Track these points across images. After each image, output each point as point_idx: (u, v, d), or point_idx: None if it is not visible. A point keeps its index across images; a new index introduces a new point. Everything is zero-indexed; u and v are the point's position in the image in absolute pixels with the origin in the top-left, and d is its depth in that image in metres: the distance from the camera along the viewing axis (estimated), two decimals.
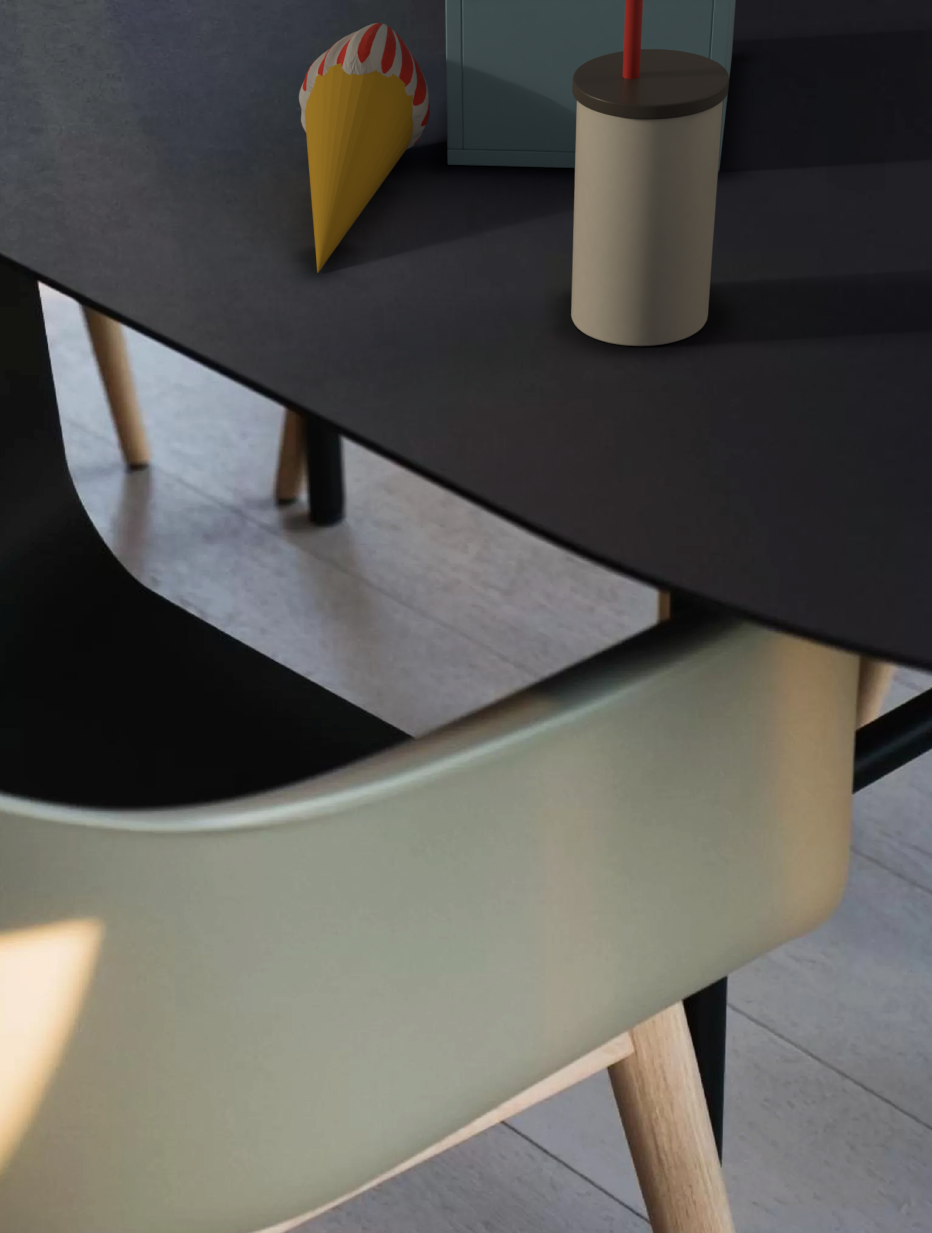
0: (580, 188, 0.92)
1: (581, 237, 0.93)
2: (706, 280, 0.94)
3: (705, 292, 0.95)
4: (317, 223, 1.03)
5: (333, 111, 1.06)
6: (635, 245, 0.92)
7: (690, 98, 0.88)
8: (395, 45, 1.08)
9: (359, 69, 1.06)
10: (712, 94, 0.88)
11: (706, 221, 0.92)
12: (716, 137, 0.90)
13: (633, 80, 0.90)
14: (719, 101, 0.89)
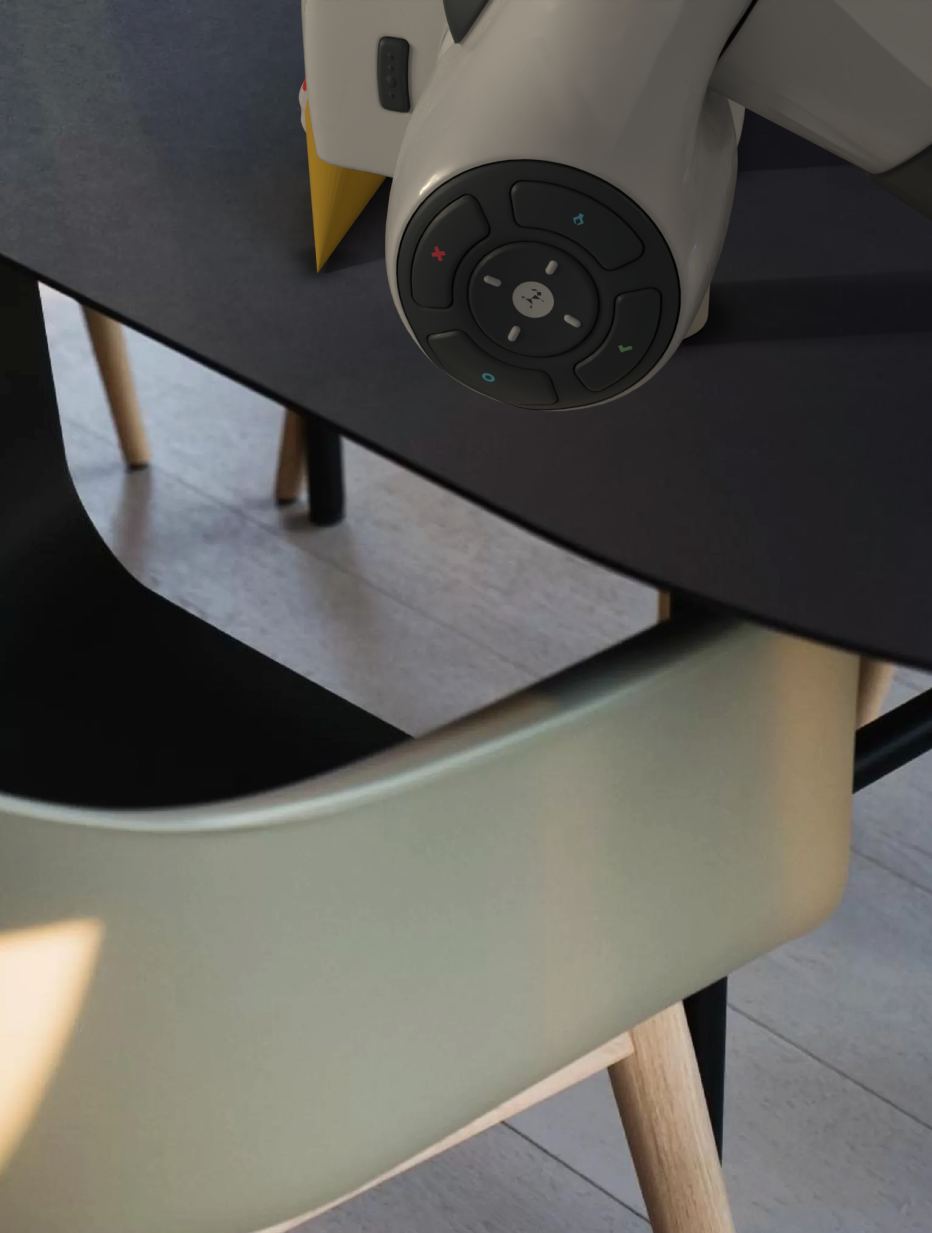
0: None
1: None
2: None
3: None
4: (317, 223, 1.03)
5: None
6: None
7: None
8: None
9: None
10: None
11: None
12: None
13: None
14: None
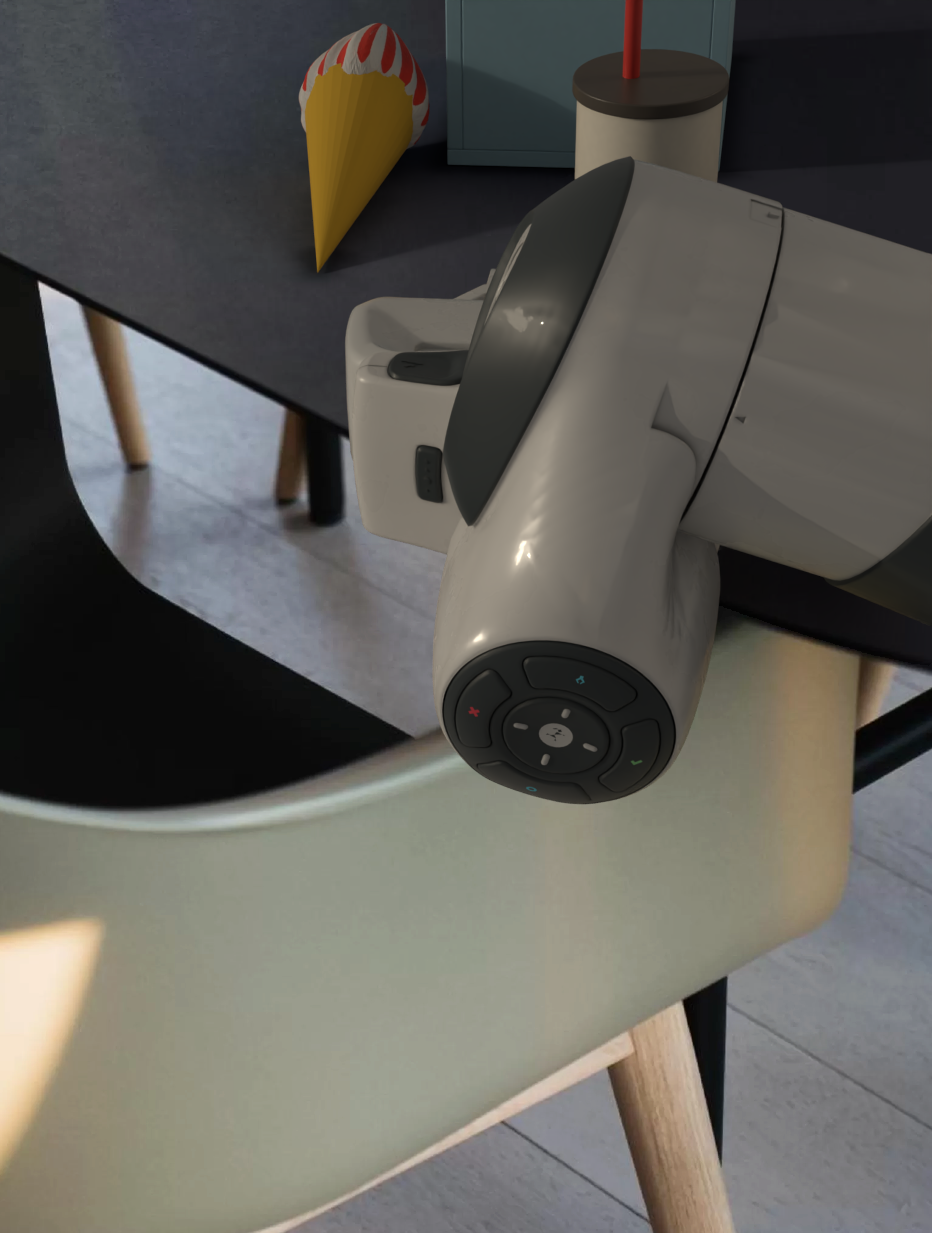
0: None
1: None
2: None
3: None
4: (317, 223, 1.03)
5: (333, 111, 1.06)
6: None
7: (690, 98, 0.88)
8: (395, 45, 1.08)
9: (359, 69, 1.06)
10: (712, 94, 0.88)
11: None
12: (716, 137, 0.90)
13: (633, 80, 0.90)
14: (719, 101, 0.89)
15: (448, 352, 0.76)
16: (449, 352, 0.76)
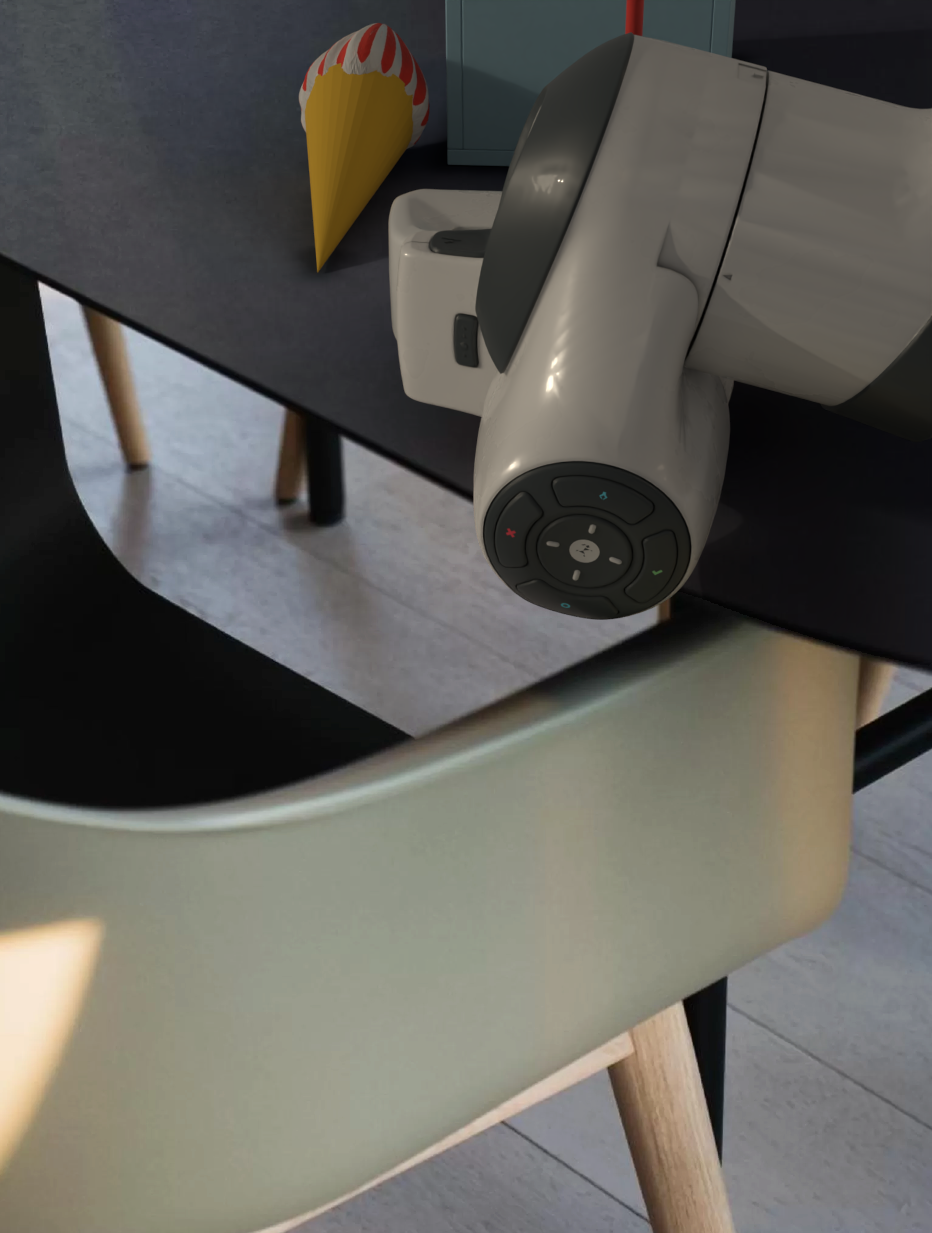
0: None
1: None
2: None
3: None
4: (317, 223, 1.03)
5: (333, 111, 1.06)
6: None
7: None
8: (395, 45, 1.08)
9: (359, 69, 1.06)
10: None
11: None
12: None
13: None
14: None
15: (483, 230, 0.84)
16: (484, 230, 0.84)
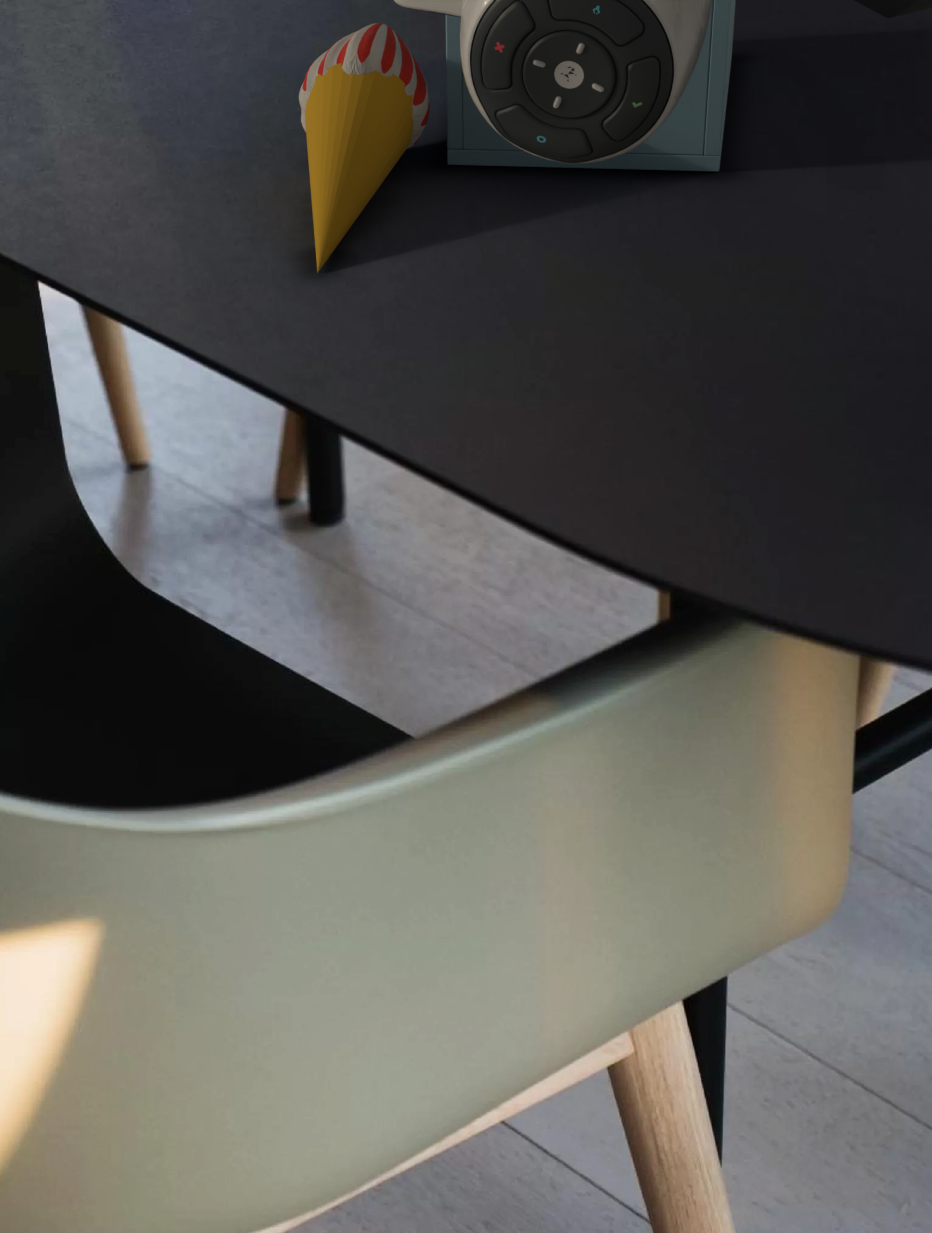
0: None
1: None
2: None
3: None
4: (317, 223, 1.03)
5: (333, 111, 1.06)
6: None
7: None
8: (395, 45, 1.08)
9: (359, 69, 1.06)
10: None
11: None
12: None
13: None
14: None
15: None
16: None
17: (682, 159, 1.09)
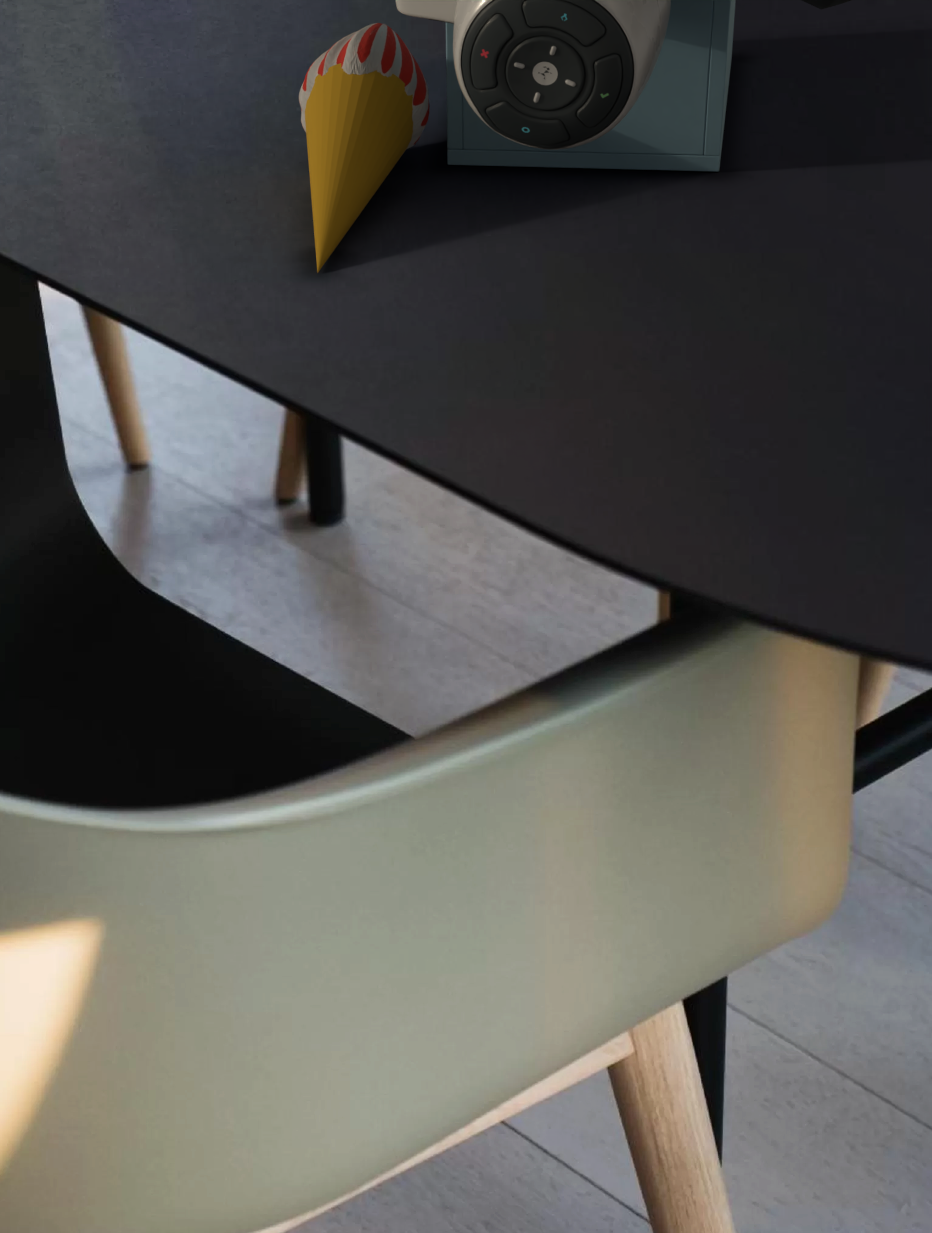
0: None
1: None
2: None
3: None
4: (317, 223, 1.03)
5: (333, 111, 1.06)
6: None
7: None
8: (395, 45, 1.08)
9: (359, 69, 1.06)
10: None
11: None
12: None
13: None
14: None
15: None
16: None
17: (682, 159, 1.09)
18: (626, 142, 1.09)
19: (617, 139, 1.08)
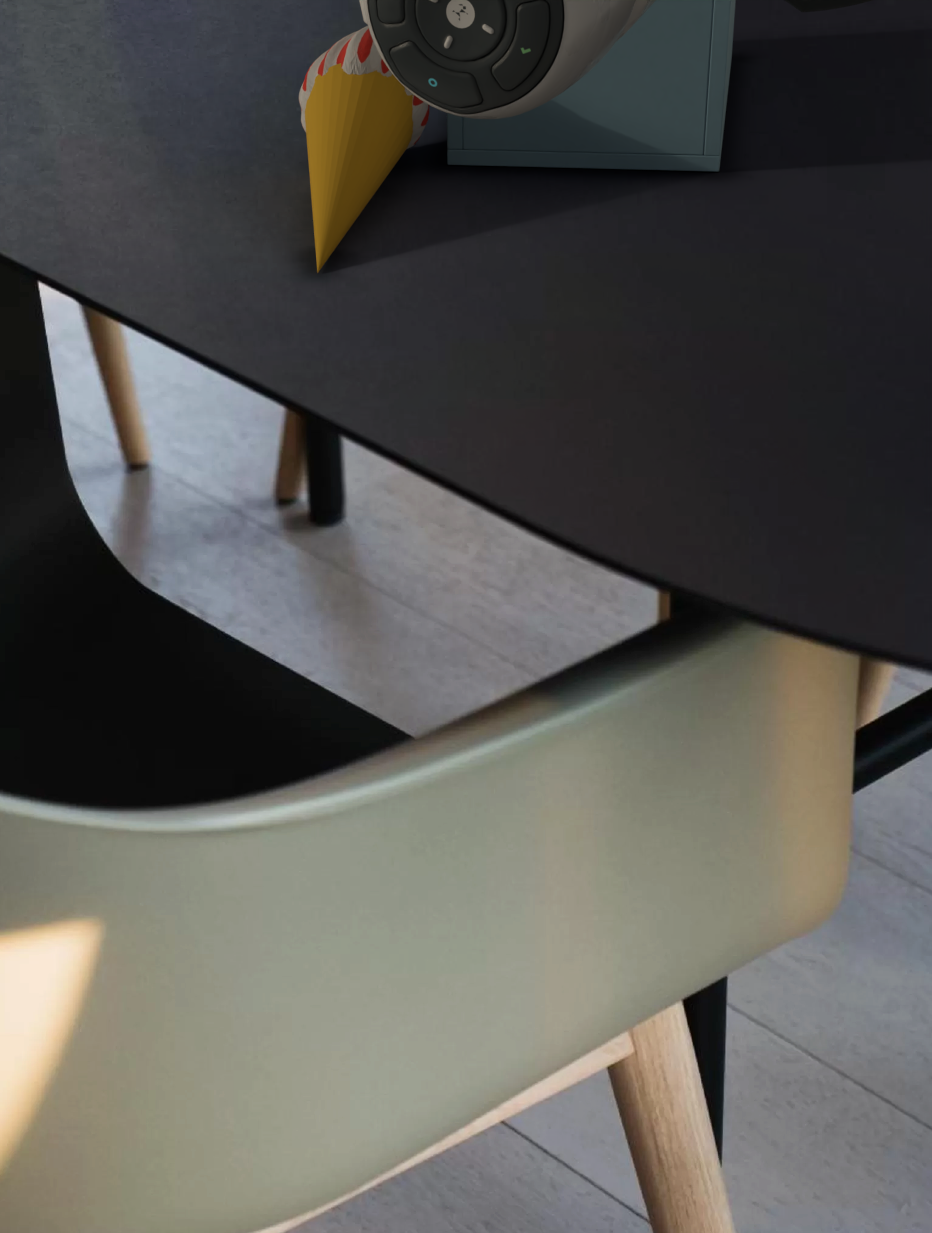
0: None
1: None
2: None
3: None
4: (317, 223, 1.03)
5: (333, 111, 1.06)
6: None
7: None
8: None
9: (359, 69, 1.06)
10: None
11: None
12: None
13: None
14: None
15: None
16: None
17: (682, 159, 1.09)
18: (626, 142, 1.09)
19: (617, 139, 1.08)
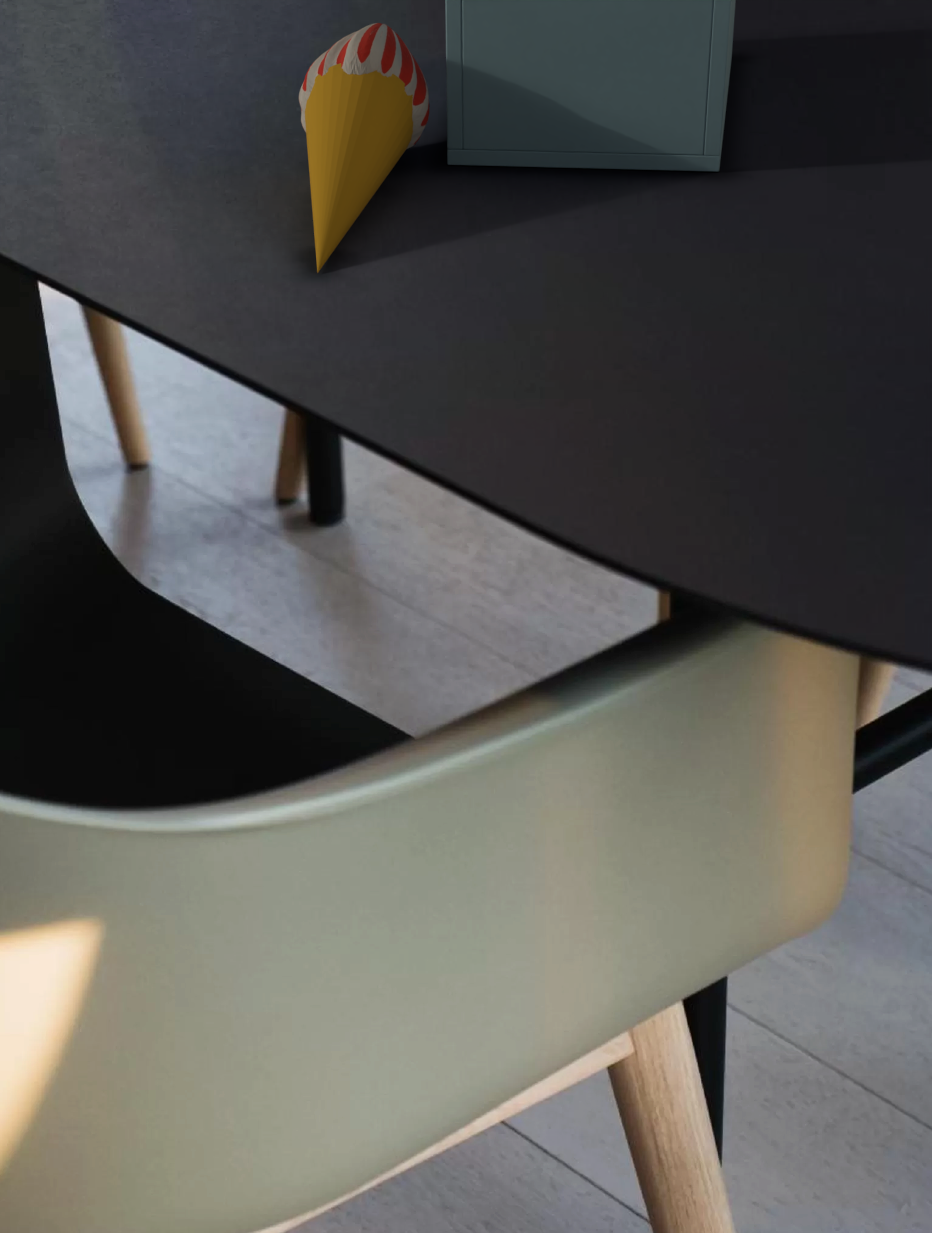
0: None
1: None
2: None
3: None
4: (317, 223, 1.03)
5: (333, 111, 1.06)
6: None
7: None
8: (395, 45, 1.08)
9: (359, 69, 1.06)
10: None
11: None
12: None
13: None
14: None
15: None
16: None
17: (682, 159, 1.09)
18: (626, 142, 1.09)
19: (617, 139, 1.08)
